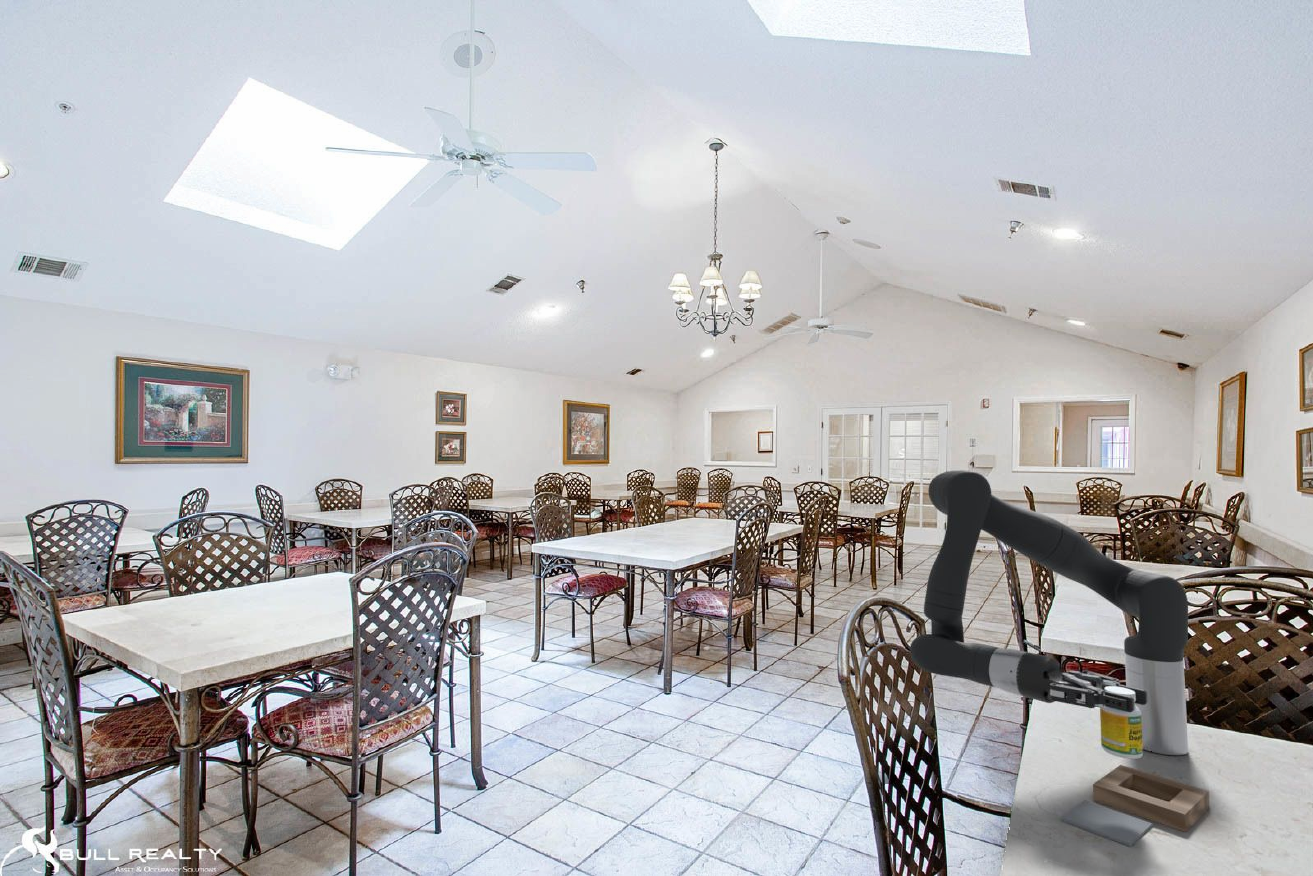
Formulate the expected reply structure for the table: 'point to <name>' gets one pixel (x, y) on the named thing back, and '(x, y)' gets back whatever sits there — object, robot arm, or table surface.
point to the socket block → (1176, 813)
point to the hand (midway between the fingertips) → (1139, 701)
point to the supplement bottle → (1121, 728)
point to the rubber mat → (1107, 822)
